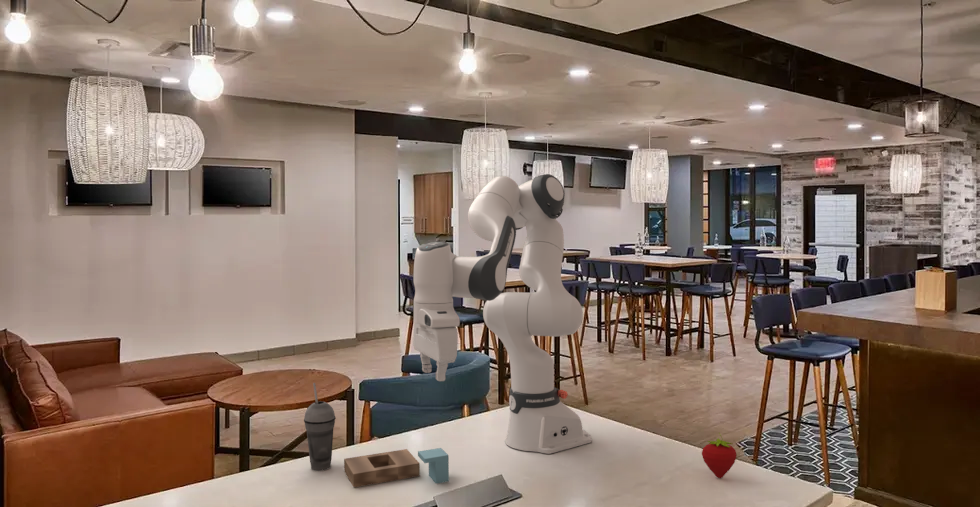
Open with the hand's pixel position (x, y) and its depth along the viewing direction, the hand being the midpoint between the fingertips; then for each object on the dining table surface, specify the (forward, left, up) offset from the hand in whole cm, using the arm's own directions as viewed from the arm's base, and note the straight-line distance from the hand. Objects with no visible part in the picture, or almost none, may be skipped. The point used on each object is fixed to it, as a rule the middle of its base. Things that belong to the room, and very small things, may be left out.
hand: (433, 376), depth 148 cm
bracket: (+1, +1, -23) cm, 23 cm away
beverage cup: (+23, -17, -23) cm, 36 cm away
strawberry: (-57, +27, -23) cm, 68 cm away
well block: (+11, -7, -23) cm, 26 cm away
